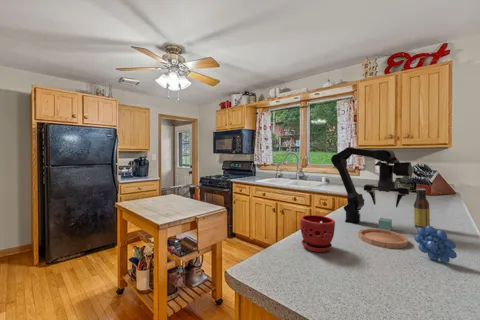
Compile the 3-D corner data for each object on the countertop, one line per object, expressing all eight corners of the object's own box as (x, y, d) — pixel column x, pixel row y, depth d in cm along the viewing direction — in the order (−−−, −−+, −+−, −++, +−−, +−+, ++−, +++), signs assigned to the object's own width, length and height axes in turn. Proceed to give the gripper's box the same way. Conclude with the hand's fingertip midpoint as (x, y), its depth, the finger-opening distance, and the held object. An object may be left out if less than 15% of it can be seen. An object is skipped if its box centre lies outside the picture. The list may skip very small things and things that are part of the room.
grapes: (410, 257, 82) (410, 225, 82) (416, 252, 86) (416, 221, 86) (453, 271, 73) (454, 234, 72) (458, 264, 77) (458, 229, 76)
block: (378, 229, 113) (378, 219, 113) (380, 227, 117) (380, 217, 116) (390, 232, 110) (390, 221, 109) (391, 229, 113) (391, 219, 113)
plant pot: (329, 257, 82) (329, 225, 82) (295, 248, 90) (295, 219, 90) (338, 246, 93) (338, 217, 93) (307, 239, 101) (307, 212, 101)
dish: (354, 240, 98) (354, 236, 98) (363, 230, 112) (363, 226, 112) (405, 252, 87) (405, 246, 87) (408, 238, 100) (408, 234, 100)
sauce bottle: (424, 226, 118) (424, 188, 117) (433, 230, 111) (433, 190, 111) (410, 225, 118) (411, 188, 118) (418, 229, 112) (419, 190, 112)
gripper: (361, 175, 112) (361, 206, 113) (408, 177, 100) (407, 212, 101) (366, 173, 121) (365, 202, 121) (409, 175, 109) (408, 207, 109)
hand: (385, 206), depth 113 cm, fingers open, 9 cm apart
